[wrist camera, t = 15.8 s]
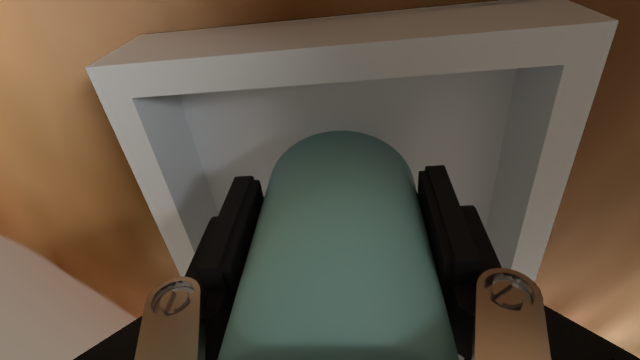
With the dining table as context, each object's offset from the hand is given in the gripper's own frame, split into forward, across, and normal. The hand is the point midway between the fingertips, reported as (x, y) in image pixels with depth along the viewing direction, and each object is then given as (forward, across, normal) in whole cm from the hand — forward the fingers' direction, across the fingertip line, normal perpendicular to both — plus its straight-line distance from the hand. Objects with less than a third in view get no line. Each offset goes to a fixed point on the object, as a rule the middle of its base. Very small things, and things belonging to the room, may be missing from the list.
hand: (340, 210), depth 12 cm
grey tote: (+4, 0, +4) cm, 6 cm away
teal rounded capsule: (+1, 0, 0) cm, 1 cm away
